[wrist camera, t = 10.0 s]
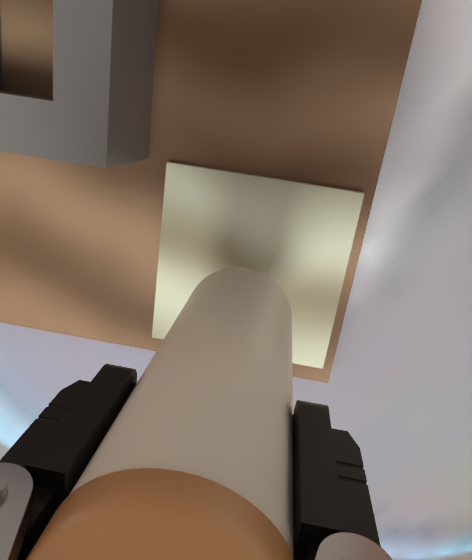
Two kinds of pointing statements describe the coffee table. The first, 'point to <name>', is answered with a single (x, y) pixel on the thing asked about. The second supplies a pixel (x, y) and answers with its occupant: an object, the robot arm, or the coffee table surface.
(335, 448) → the robot arm
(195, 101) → the base board
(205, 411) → the plug
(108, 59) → the grey square frame
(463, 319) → the coffee table surface
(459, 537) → the coffee table surface
